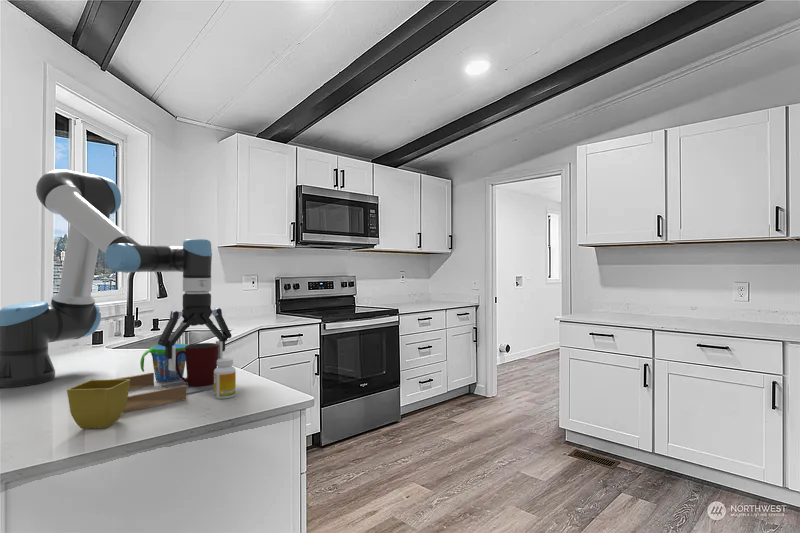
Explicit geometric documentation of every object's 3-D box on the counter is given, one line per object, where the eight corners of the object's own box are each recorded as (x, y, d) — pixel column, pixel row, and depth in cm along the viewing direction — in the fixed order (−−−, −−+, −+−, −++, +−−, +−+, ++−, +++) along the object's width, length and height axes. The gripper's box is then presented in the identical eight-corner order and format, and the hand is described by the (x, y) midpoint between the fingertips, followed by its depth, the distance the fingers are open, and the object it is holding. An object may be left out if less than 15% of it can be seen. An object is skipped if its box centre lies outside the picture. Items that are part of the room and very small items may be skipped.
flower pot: (90, 419, 104) (90, 379, 104) (131, 418, 105) (131, 378, 105) (65, 433, 95) (65, 389, 95) (110, 432, 96) (110, 388, 96)
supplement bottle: (239, 394, 124) (239, 358, 124) (226, 400, 119) (226, 362, 119) (223, 392, 126) (223, 357, 126) (209, 398, 121) (209, 360, 121)
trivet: (161, 386, 132) (161, 385, 132) (209, 377, 143) (209, 376, 143) (183, 395, 123) (183, 394, 123) (232, 385, 133) (232, 384, 133)
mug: (181, 391, 125) (181, 351, 125) (168, 386, 131) (168, 347, 131) (223, 383, 134) (223, 345, 134) (209, 378, 140) (209, 342, 140)
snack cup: (194, 372, 149) (194, 341, 149) (200, 379, 141) (200, 346, 141) (138, 379, 141) (138, 346, 141) (141, 386, 132) (141, 351, 132)
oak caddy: (80, 397, 121) (80, 384, 121) (152, 384, 134) (152, 372, 134) (108, 415, 106) (108, 400, 106) (186, 399, 119) (186, 385, 119)
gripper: (156, 295, 121) (155, 376, 121) (243, 291, 140) (242, 361, 140) (145, 293, 126) (144, 371, 126) (231, 290, 145) (230, 358, 145)
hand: (196, 366), depth 133 cm, fingers open, 13 cm apart
